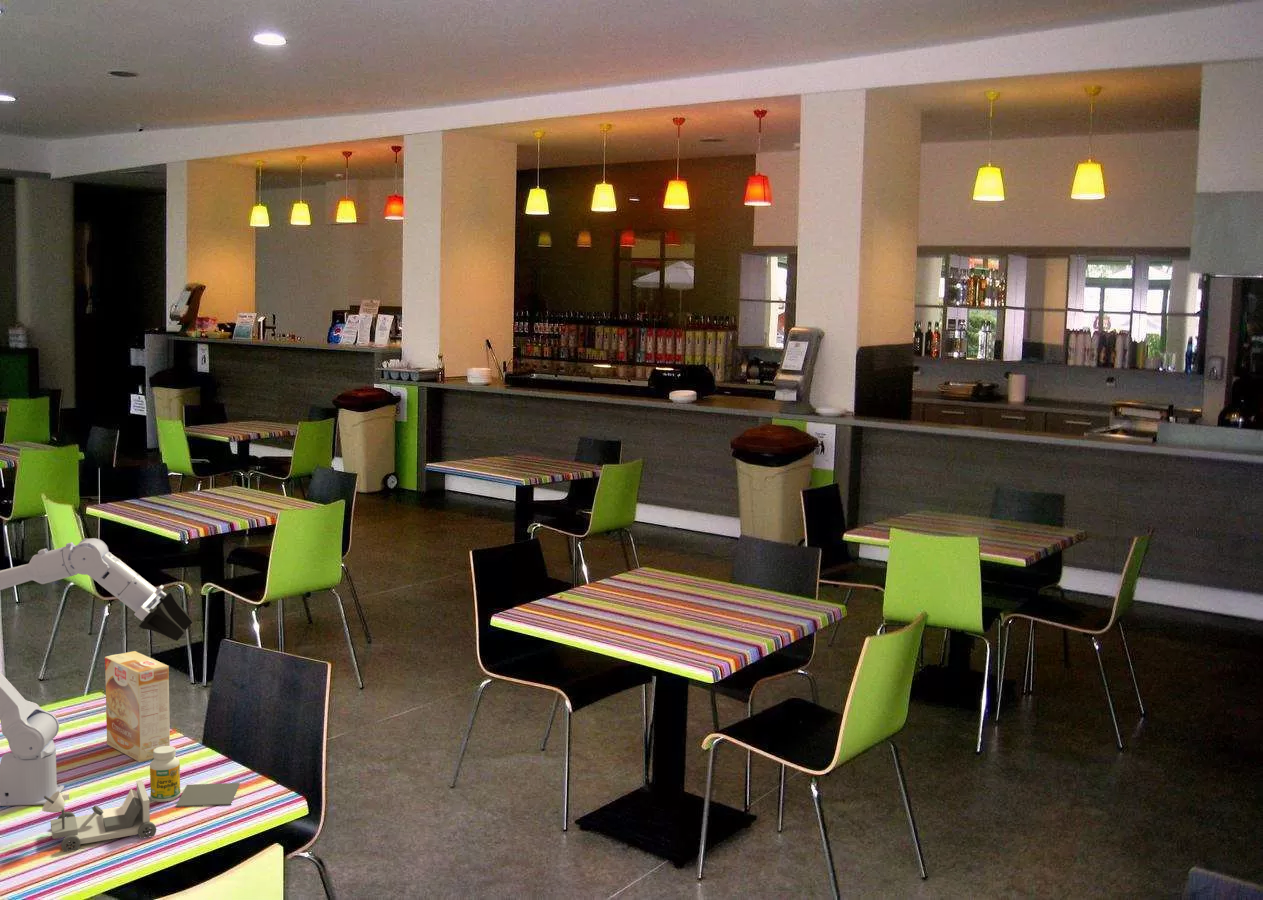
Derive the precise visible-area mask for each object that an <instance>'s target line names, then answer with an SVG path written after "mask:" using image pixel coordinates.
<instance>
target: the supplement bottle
mask: <svg viewBox="0 0 1263 900" xmlns="http://www.w3.org/2000/svg"><path fill="white" fill-rule="evenodd" d="M153 757H154V759H151V760H152V761H151V760H150V761H151V762H149V777H150V778H149V779H150V780H149V781H150V783H149V784H150V799H151V800H152V801H154V802H156V801H157V802H156V803H166V802H167V801H168V802H171V801H174V800H176V799H178V798H180V797H181V769H180V768H181V766H180V759H179V758H178V757H176V747H174V746H172V745H170V746H161V747H158V748H156V749H154V750H153Z"/></svg>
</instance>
